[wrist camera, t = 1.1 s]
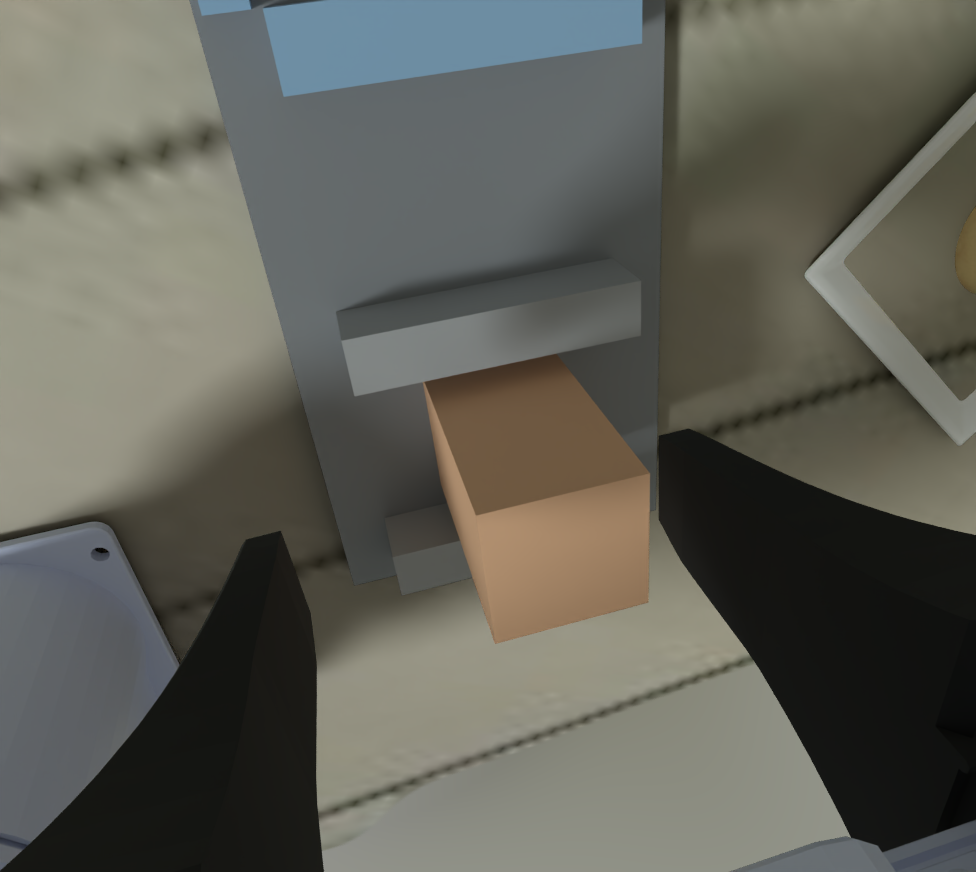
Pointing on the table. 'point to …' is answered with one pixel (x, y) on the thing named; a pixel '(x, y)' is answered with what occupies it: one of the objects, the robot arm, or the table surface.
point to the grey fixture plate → (445, 224)
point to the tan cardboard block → (540, 496)
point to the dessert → (868, 317)
